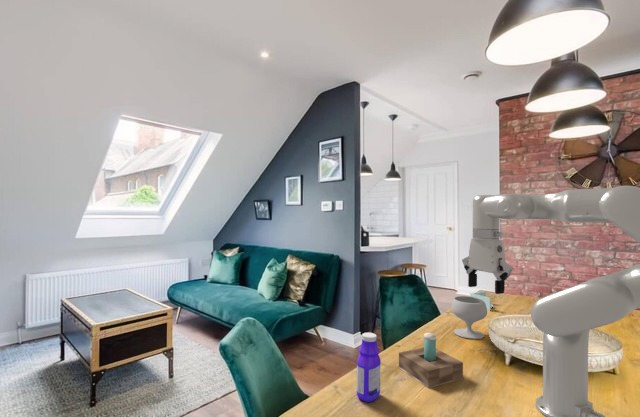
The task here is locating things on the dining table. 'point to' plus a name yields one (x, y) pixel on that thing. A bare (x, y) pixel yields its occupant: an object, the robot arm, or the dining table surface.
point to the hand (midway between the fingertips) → (485, 289)
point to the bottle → (368, 369)
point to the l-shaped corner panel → (483, 298)
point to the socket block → (430, 367)
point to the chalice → (469, 315)
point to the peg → (430, 347)
